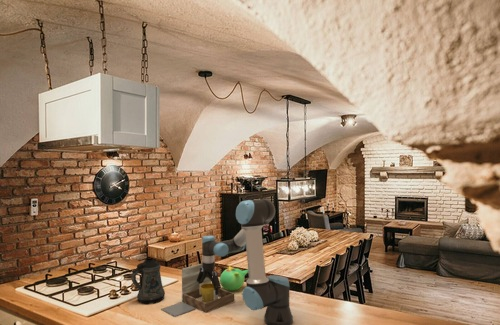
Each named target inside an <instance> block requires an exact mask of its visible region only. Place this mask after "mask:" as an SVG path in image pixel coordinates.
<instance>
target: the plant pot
mask: <svg viewBox="0 0 500 325" xmlns="http://www.w3.org/2000/svg"><path fill="white" fill-rule="evenodd" d="M214 289H215V288H214V286H213V284H212V282H211V283H206V284H202V285H201V286H200V292H201V294H202V297H201V299H202V301H203V302H205V303H207V302H210V301H213V300H214Z"/></svg>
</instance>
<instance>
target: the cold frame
mask: <svg viewBox="0 0 500 325" xmlns="http://www.w3.org/2000/svg"><path fill="white" fill-rule="evenodd" d="M200 268H202V263H199V264H195V265H191V266H188V267H187V266H186V267H184V268H181V302H183V303H185V304H187V305H190V306H192V307H194V308H196V309H195V310H199V311H201V312H203V313H205V314H206V313H209V312H211V311H215V310H217V309H219V308H220V309H221V308H222V307H225V306H227V305H229V304H233V303H234V302H235V293H234V292H233V291H232V292H231V291H230V290H226V289H225V288H222V287H221V288H220V289H218V299H215V300H213V301H210V302H207V303H205V302H203V300H200V298H202V294H201V295H200V294H199V282H197V278H198V275H199V272H200ZM202 283H204V284H206V283H212V282H211V280H210V279H209V278H208V277H206V278H205V279H204V281H203V282H202Z"/></svg>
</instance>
